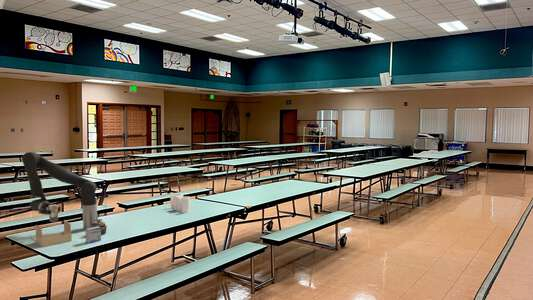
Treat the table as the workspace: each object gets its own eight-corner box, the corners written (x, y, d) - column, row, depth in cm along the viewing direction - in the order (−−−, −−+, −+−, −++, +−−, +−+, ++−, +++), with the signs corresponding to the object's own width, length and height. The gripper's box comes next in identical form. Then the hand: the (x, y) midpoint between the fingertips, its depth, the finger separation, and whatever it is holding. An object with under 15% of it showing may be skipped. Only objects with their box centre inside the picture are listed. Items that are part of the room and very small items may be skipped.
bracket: (192, 211, 330) (192, 197, 329) (181, 213, 324) (181, 198, 323) (180, 206, 350) (180, 193, 349) (170, 208, 344) (169, 194, 344)
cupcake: (93, 237, 259) (92, 221, 258) (90, 233, 267) (89, 219, 266) (108, 234, 265) (108, 219, 264) (105, 231, 272) (104, 217, 272)
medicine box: (88, 243, 245) (88, 229, 244) (85, 242, 248) (85, 228, 247) (101, 240, 251) (100, 227, 250) (98, 239, 254) (97, 226, 253)
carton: (59, 233, 268) (58, 217, 268) (71, 241, 250) (71, 223, 250) (31, 238, 257) (30, 221, 256) (42, 246, 239) (41, 229, 238)
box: (55, 219, 251) (54, 204, 250) (58, 221, 247) (57, 205, 246) (49, 220, 248) (48, 205, 247) (52, 222, 245) (51, 206, 244)
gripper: (33, 203, 253) (41, 208, 241) (57, 200, 263) (66, 204, 250) (34, 215, 254) (42, 220, 241) (58, 211, 263) (66, 215, 251)
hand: (54, 212), depth 246 cm, fingers closed on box, 3 cm apart
